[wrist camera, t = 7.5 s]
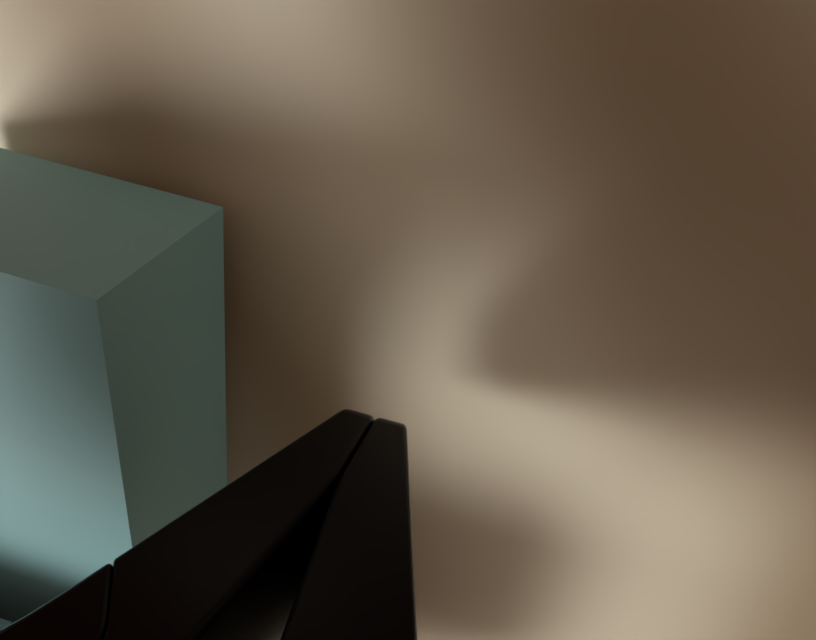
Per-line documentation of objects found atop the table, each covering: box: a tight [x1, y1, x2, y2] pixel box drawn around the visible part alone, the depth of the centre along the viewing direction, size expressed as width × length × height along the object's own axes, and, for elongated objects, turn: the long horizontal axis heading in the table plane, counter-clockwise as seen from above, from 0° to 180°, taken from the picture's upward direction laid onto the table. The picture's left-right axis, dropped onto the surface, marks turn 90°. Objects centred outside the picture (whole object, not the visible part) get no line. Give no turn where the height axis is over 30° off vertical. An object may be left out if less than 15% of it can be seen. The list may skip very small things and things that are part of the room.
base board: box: [0, 0, 816, 640], centre depth 14 cm, size 23×24×1 cm
